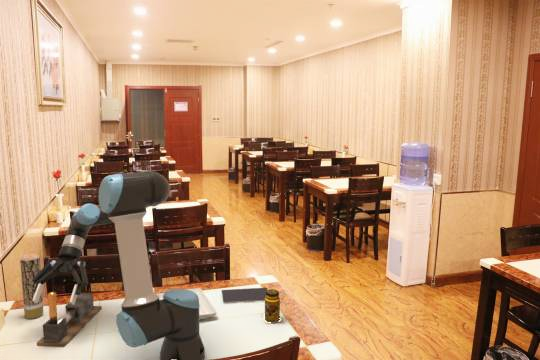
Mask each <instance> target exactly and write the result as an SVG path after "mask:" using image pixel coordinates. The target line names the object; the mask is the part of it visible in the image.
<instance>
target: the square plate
mask: <svg viewBox="0 0 540 360" xmlns="http://www.w3.org/2000/svg"><path fill="white" fill-rule="evenodd" d="M185 290H190V291H193V292H194V293H196V294H197V295H198V298H199V305H200V307H199V320H203V319H208V318H212V317H213V316H215V315H216V314H217V310H216V309H215V308H214V306H213V305H212V304H211V302H210V301H209V299H208V297H207V296H206V295H205V293H204V291H203V290H202V289H201V288H200V287H196V288H188V289H187V288H186V289H185ZM164 293H165V292H160V293H155V294H156V295H158V296H159V300H162V299H164V298H163V295H164Z"/></svg>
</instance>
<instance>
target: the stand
mask: <svg viewBox="0 0 540 360" xmlns="http://www.w3.org/2000/svg"><path fill="white" fill-rule="evenodd" d="M71 308H77V315H76V316H74V317H73V318H72V319H71V320H70V321H69V322H68V323H67V322H66V318H63V319H62V320H61V321H60V322H59V323H58V324H57V325H56V324H50V318H49V319H48V320H47V321H46V322H44V323H43V324H42V334H43V335H42V337H41V338H40V339H39V340H38V341H37V342H36V347H37V346H38V347H56V348H58V347H59V348H65V347H66V346H67V345H68V344H69V343H70V342H71V341H72V340H73V339H74V338H75V337H76V336H77V335H78V334H79V333H80V332H81V330H83V329H84V328H85V326H86V325H88V323H89V322H91V320H92V319H94V317H95V316H97V314H99V312H100V311H101V310H102V309H103V306H102V305H94V293H85V292H84V293H83V292H80V295H77V298H76V301H75V304H74V305H72V304H71V303H70V301H69V302H68V303H67V304H66V305H65V308H64V309H65V313H66V312H68V311H69V310H70V309H71Z"/></svg>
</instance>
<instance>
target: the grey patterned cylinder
mask: <svg viewBox="0 0 540 360" xmlns="http://www.w3.org/2000/svg"><path fill="white" fill-rule="evenodd" d="M19 260H20V273H21V274H20V275H21V276H20V277H21V287H22V299H23V300H22V302H23V313H24V318H25V319H27V320H28V319H29V320H30V319H33V320H34V319H38V318H40V317H41V316H43V315H44V301H43V298H44V297H43V292H42V293H41V296H40V299H39V301H38V303H35V302H34V301H32V300H33V297H34V295H35V293H34V289H35V286H36V284H35V283H34V282H33V281H32V280H33V278H34V277H35V276H36V275H37V274H38V273H39V272H40V271H41V270H42V269H41V259H40V254H38V253H28V254H24V255H22V256H20V259H19Z"/></svg>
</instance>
